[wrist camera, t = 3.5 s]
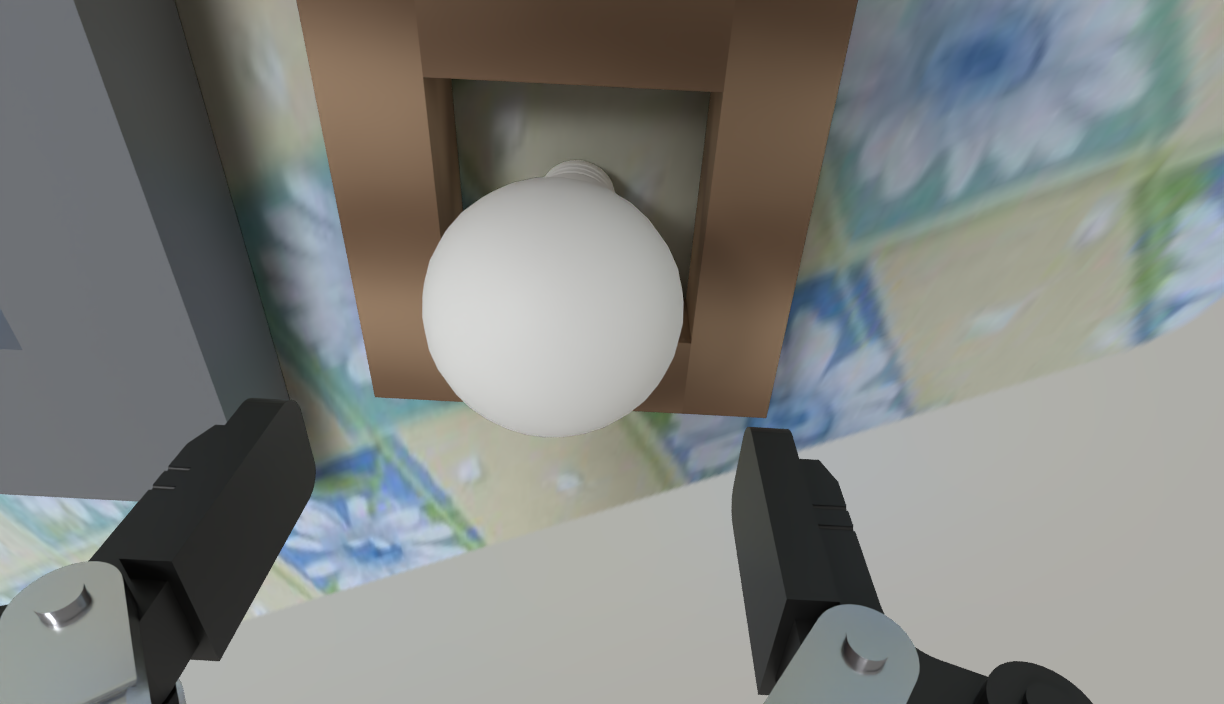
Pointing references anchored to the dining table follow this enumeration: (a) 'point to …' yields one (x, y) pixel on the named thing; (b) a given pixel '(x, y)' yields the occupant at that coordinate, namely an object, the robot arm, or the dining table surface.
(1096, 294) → the dining table surface
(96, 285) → the socket block
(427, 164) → the wooden picture frame
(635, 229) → the lightbulb
